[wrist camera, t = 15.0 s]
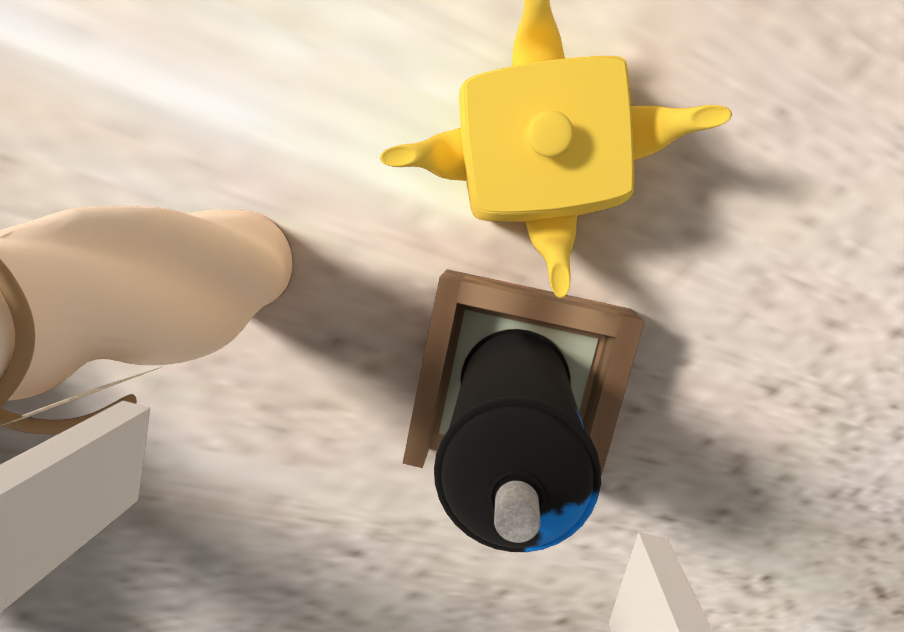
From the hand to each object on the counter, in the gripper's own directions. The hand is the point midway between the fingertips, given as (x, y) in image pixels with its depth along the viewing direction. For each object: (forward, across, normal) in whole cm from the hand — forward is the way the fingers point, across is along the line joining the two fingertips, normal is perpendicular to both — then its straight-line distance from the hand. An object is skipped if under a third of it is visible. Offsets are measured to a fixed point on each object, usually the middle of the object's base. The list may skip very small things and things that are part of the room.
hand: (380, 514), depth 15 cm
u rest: (+30, +5, -4) cm, 31 cm away
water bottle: (+31, -17, -1) cm, 35 cm away
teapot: (+31, +3, +13) cm, 33 cm away
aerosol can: (+29, +5, -4) cm, 30 cm away
